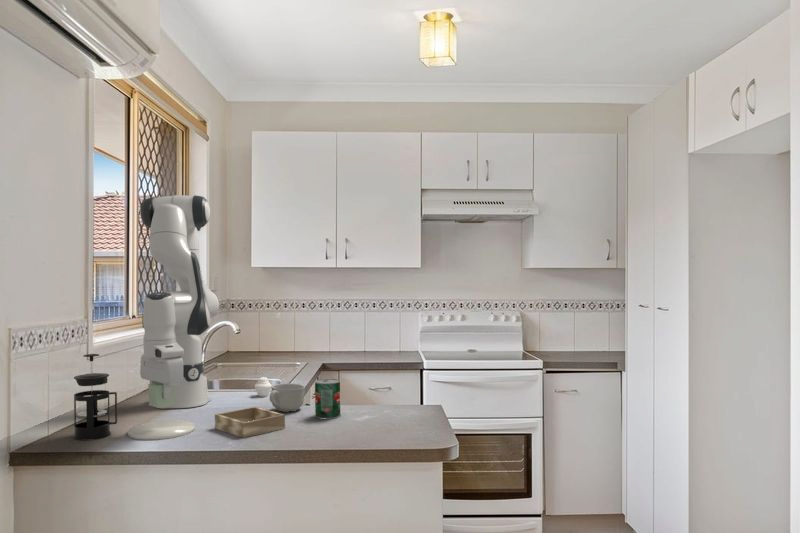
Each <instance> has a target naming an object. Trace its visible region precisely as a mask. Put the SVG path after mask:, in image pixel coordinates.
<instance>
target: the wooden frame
mask: <svg viewBox="0 0 800 533" xmlns="http://www.w3.org/2000/svg"><path fill="white" fill-rule="evenodd" d="M253 420H254V421H253ZM248 421H249V422H248ZM284 428H285V429H286V415H285V414H284V413H281V412H276V411H272V410H268V409H264V408H260V407H258V406H252V407H248V408H247V407H246V408H242V409H237V410H232V411H226V412H221V413H216V414H214V429H216V430H219V431H223V432H225V433H228V434H231V435H234V436H237V437H241V438H245V437H246V438H249V436H250V437H253V435H254V436H259V435H262V434H261V433H263V434H267V433H266V432H268V433H271V432H270V431H272V432H275V430H276V431H279V430H280V429H281V430H285V429H284ZM258 434H259V435H258Z"/></svg>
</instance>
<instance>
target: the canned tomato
mask: <svg viewBox="0 0 800 533" xmlns="http://www.w3.org/2000/svg"><path fill="white" fill-rule="evenodd" d="M314 402H315V404H314V407H315V410H314V411H315V412H314V415H315V416H316V417H318V418H317V419H319V418H326V419H325V420H332V419H331V418H333V419H337V417H338V418H340V417H341V380H340V379H336V378H321V379H317V380H315V381H314Z"/></svg>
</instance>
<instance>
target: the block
mask: <svg viewBox="0 0 800 533" xmlns="http://www.w3.org/2000/svg"><path fill="white" fill-rule="evenodd" d="M163 391H164V387H163V383H154V384H150V383H148V406H150V407H154V408H158V407H162V406H168V405H174V400H173V385H172V389H171V392H170V399H163V398H162V393H163Z"/></svg>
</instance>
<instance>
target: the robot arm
mask: <svg viewBox="0 0 800 533" xmlns="http://www.w3.org/2000/svg"><path fill="white" fill-rule="evenodd" d="M139 215H140V219H141V222H142V224H143V225H144V226H145V227H146V228H149V242H148V244H149V252H150V255H151V257H152V258H153V259H154V260H155V261H156V262H157V263H159V264H160V265H162V266H163V267H165V271H166V274H167V276H168V277H169V278H171V279H173V280H175V282H176V283H177V284H178V286H179V289H180V290H178V291H177V290H175V291H172V290H171V291H159V292H157V291H156V292H152V293H149V294H147V295H145V297H144V301H143V308H142V309H143V310H142V314H141V317H142V318H141V320H142V321H141V322H142V328H143V330H144V334H143V335H144V336H143V339H142V342H143V343H142V344H143V354H142V355H141V357H140V366H139V367H140V368H139V374H140V377H141V379H142V380H147V381H149V384H154V383H163V387H164V391H163V393H162V398H163V399H170V392H171V389H172V385H173V400H174V405H168V406H162V407H157V408H158V409H187V408H195V407H201V406H204V405H206V404H207V403H208V402H210V401H211V400H212V397H211V396H209V390H208V381H207V379H208V378H207V376H205V375H204V374H203V373H204V368H205V366H204V362H203V355H202V354H203V347H202V345H203V344H202V339H201V338H200V337H199V336H201V335H202V334H203V333H205V332H206V331H207V330H208V329H209V328H210V324H211V319H213V318H215V317H216V315H217V314H218V312H219V309H220V302H219V299H218V297H217V295H216V294H215V293H214V292H213V291H212V290H210V288H209V287H208V286H207V284H206V282H205V280H204V279H203V275H202V270H201V261H200V260H201V259H200V244H199V236H198V232H199V231H201V228H204V227H205V226H206V225H208V222H209V220H210V216H211V207H210V205H209V202H208V200H207V199H206V197H204V196H203V195H202V196H201V195H197V194H196V195H195V194H194V195H183V194H182V195H179V194H175V195H165V196H159V197H156V196H153V197H152V196H151V197H148V198H145V199H144V200H143V201H142V202H141V204H140V211H139Z"/></svg>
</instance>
